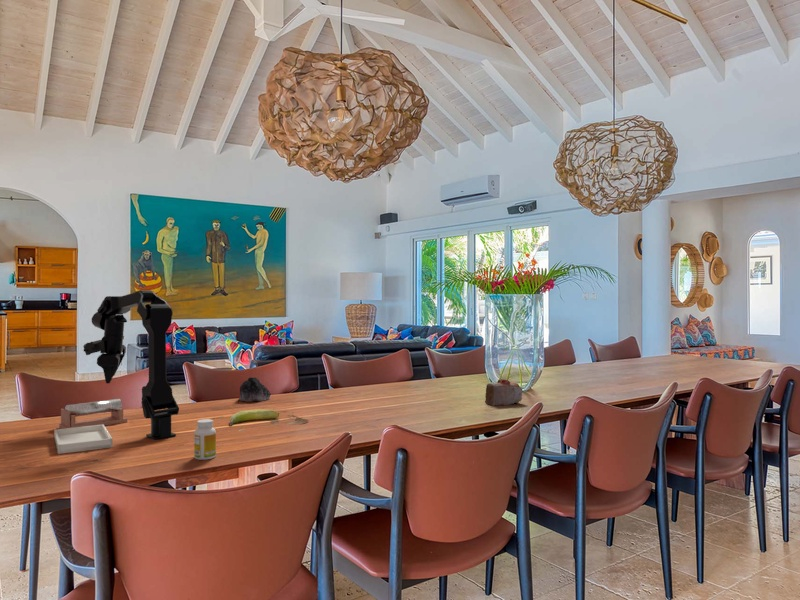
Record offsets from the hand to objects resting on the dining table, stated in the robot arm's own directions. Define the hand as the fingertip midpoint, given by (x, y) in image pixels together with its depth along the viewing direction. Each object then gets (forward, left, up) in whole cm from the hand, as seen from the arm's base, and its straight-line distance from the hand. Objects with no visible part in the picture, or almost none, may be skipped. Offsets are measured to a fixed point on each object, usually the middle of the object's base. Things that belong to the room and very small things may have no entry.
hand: (110, 379), depth 197 cm
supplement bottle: (-62, -1, -14) cm, 63 cm away
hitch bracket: (-2, +6, -14) cm, 15 cm away
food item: (-76, -121, -14) cm, 143 cm away
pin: (-2, +6, -11) cm, 12 cm away
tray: (-23, +16, -14) cm, 31 cm away
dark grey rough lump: (+2, -57, -14) cm, 59 cm away
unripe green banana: (-33, -34, -15) cm, 49 cm away
